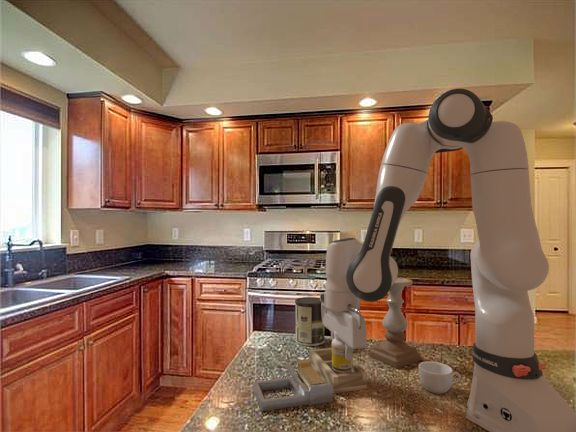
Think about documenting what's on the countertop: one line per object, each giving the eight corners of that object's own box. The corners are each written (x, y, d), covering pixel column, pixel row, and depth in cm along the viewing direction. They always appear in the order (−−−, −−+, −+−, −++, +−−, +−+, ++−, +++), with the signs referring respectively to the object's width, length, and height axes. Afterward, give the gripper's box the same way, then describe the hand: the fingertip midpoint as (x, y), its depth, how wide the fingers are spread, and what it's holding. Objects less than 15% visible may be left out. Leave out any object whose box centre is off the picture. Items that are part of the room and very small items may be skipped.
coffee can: (323, 336, 128) (323, 296, 128) (326, 346, 117) (326, 303, 117) (294, 335, 128) (295, 296, 128) (294, 346, 117) (295, 303, 117)
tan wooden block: (325, 399, 83) (325, 379, 83) (313, 401, 82) (313, 380, 82) (308, 377, 95) (308, 359, 95) (297, 378, 94) (297, 360, 94)
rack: (366, 388, 88) (366, 372, 89) (333, 393, 86) (333, 377, 86) (337, 360, 106) (337, 347, 106) (309, 363, 103) (309, 350, 103)
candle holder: (368, 356, 109) (368, 278, 109) (392, 348, 115) (392, 275, 115) (397, 369, 100) (397, 284, 100) (421, 360, 106) (421, 280, 106)
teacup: (424, 396, 85) (424, 373, 85) (414, 381, 93) (414, 360, 93) (467, 398, 84) (467, 375, 84) (454, 382, 92) (454, 362, 92)
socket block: (332, 401, 82) (332, 384, 82) (261, 412, 78) (261, 394, 78) (304, 365, 102) (304, 351, 102) (246, 372, 97) (246, 358, 97)
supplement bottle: (338, 363, 96) (338, 326, 96) (356, 368, 92) (356, 331, 92) (327, 369, 92) (327, 331, 92) (345, 375, 88) (346, 336, 88)
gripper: (373, 309, 83) (373, 369, 83) (337, 291, 102) (337, 339, 102) (348, 311, 81) (348, 372, 81) (317, 292, 101) (317, 341, 101)
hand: (342, 353), depth 92 cm, fingers closed on supplement bottle, 5 cm apart
